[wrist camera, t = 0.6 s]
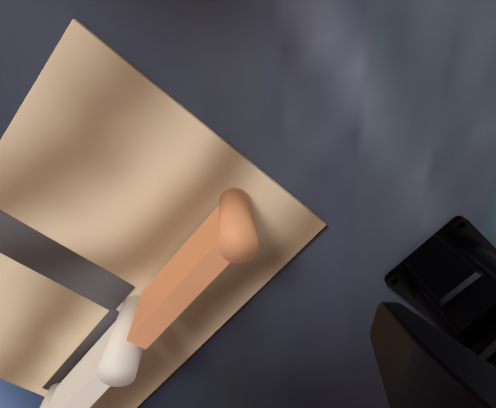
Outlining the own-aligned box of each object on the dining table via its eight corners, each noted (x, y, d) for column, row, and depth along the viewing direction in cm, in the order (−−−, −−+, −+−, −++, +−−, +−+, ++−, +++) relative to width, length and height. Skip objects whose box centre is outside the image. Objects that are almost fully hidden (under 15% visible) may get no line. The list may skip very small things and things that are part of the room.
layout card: (324, 221, 21) (326, 225, 21) (118, 421, 28) (117, 426, 27) (76, 19, 16) (72, 18, 15) (-109, 327, 22) (-116, 332, 22)
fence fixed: (160, 300, 23) (143, 370, 18) (70, 397, 26) (35, 479, 21) (134, 285, 22) (110, 354, 17) (46, 387, 25) (3, 469, 21)
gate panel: (256, 200, 20) (267, 243, 15) (161, 302, 22) (147, 364, 18) (232, 181, 19) (236, 221, 15) (137, 288, 22) (117, 350, 17)
